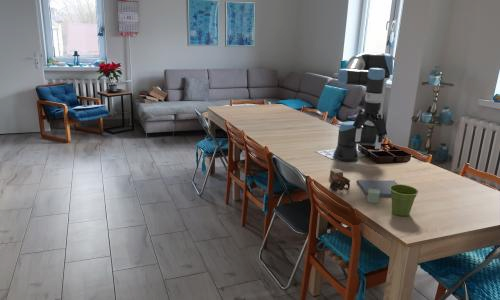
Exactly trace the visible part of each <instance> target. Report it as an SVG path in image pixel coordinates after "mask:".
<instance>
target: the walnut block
mask: <svg viewBox="0 0 500 300" xmlns="http://www.w3.org/2000/svg"><path fill="white" fill-rule="evenodd" d="M337 174H338V175H341V176H343V177H344V171H343V170H341V169H340V168H337V169H336V168H334V169H333V168H332V169H331V168H330V171H329V179H330V180H331V181H332V180H333V178H334V177H335V176H337Z"/></svg>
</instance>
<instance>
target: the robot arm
mask: <svg viewBox="0 0 500 300" xmlns="http://www.w3.org/2000/svg"><path fill="white" fill-rule="evenodd" d="M337 72H338V73H337V83H338V84H341V85H344V86H345V85H348V86H365V96H364V102H363V103H364V104H363V109H360V108H359V111H358V114H357V116H356V118H355V119H354V121H353V120H352V121H343V122H341V123H340V124H339V127H338V136H337V143H336V144H337V146H336V148H335V150H334V152H333V155H332V156H333V159H334V160H335V161H338V162H343V163H356V162H358V161H359V153H358V148H357V146H358V145H366V146H372V147H374V149H375V150H378V149H381V146H382V142H383V140H384V136H386V135H387V134H388V132H387V126H386V121H385V119H384V118H385V114H384V113H383V112H384V111H383V110H384V104H385V103H384V102H385V94H386V87H387V81H388V80H389V79H390V78H391V76H393V75H394V56H393V54H391V53H386V52H360V53H357V54H355V55H353V56H351V57H350V58H349V60H348V61H347V66H346V68H340V69H339V70H338V71H337Z"/></svg>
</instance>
